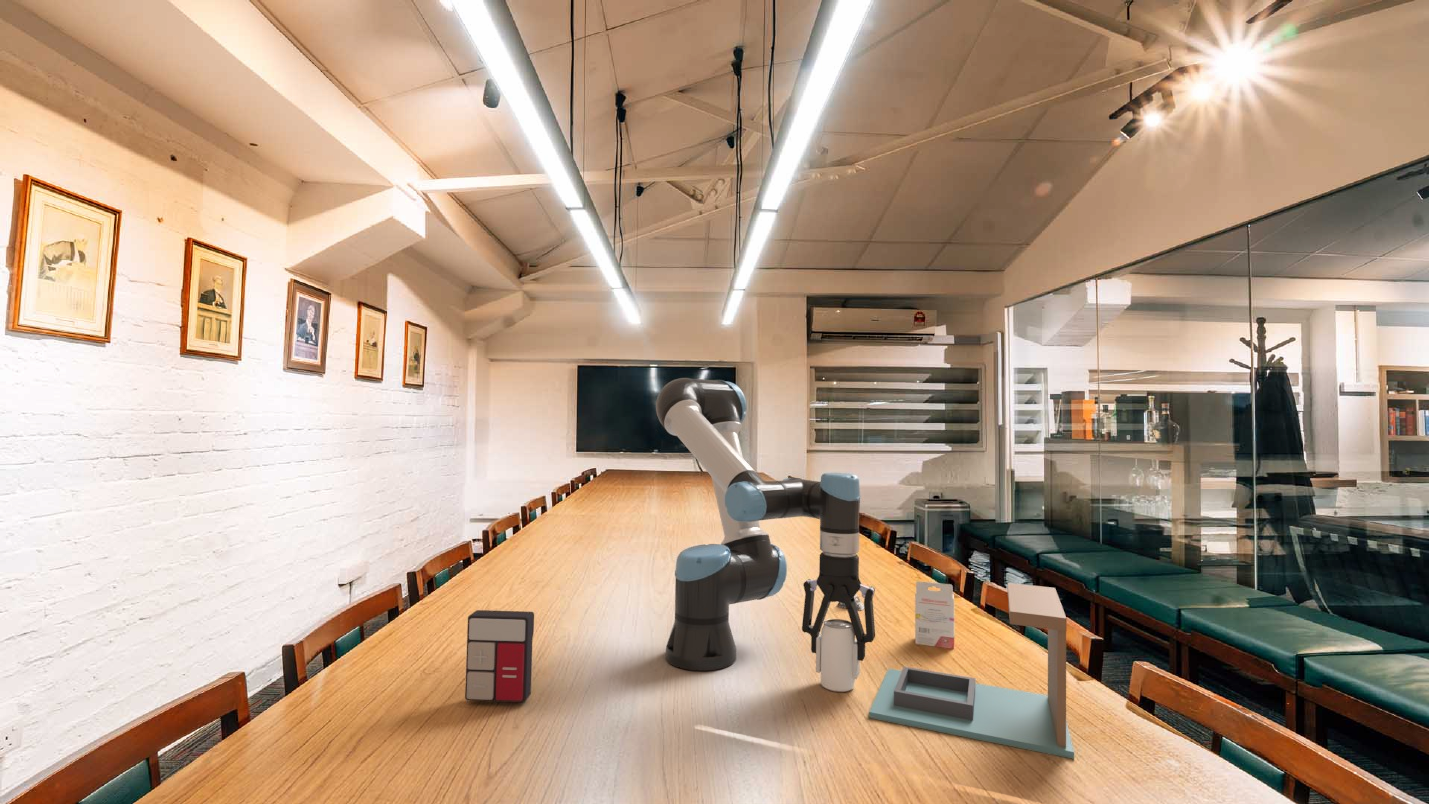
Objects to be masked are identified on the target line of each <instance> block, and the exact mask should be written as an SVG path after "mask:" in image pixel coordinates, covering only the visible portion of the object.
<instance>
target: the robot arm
mask: <svg viewBox="0 0 1429 804" xmlns="http://www.w3.org/2000/svg"><path fill="white" fill-rule="evenodd" d="M743 392H744V391H742V389H741V387H739V386H738V385H737V384H735V383H733V382H731V381H725V380H723V379H714V380H713V379H700V378H699V379H698V378H691V377H690V378H689V377H679V378H677V379H676V378H675V379H673V380H671V381H670V382H668V383H666V384H665V385H664V386H663V387H662V388H661V390H660V391H659V393H658V395H657V398H656V402H655V411H656V415H657V418H658V420H659V422H660V424H661V425H662V427H663V428H664V430H666V432H667V433H668V434H669V435H672V436H675V437H677V438H678V439H679V440H680V442H682V443H683V445H684V446H685V447H686V449H688V451H689V452H690V453H691V454H692V455H693V456H694V458H695V459H696V460H697V461H698V462H699V464H700V465H701V466H702V467H703V468H704V469H705V471H706V472H707V473H708V474H709V475H710V477H711V481H712V487H713V490H714V494H715V499H716V504H717V508H718V512H719V513H718V514H719V518H720V522H721V526H722V531H723V535H724V538H723V540H722V541H721V543H720V544H719V543H708V544H703V543H702V544H699V545H698V544H697V545H694V546H690V547H687V548H684V549H683V550H681V552H680V553H679V554H678V555H677V557H676V564H675V571H674V576H675V577H674V578H675V587H674V588H675V590H674V591H675V593H674V600H675V601H674V620H673V621H674V622H673V625H672V628H671V631H670V634H669V636H668V640H667V643H666V647H665V660H666V662H667V663H669V664H670V665H672V666H674V667H677V668H679V667H680V669H684V670H690V671H715V670H720V669H724V668H727V667H729V666H731V665H733V664H734V663H735V662H736V660H737V646H736V641H735V639H734V635H733V632H732V629H731V626H730V622H729V621H730V620H729V615H730V612H729V611H730V605H734V604H740V603H745V602H750V601H757V600H759V601H760V600H763V599H767V598H769V597H772V596H776V594H778V593H779V592H780V591H781V590H782V588H783V587H784V584H785V582H786V580H787V579H786V578H787V574H788V564H787V559H786V556H785V554H784V552H783V550H781V549H780V547H779V546H777V545H775V544H773V543H771V539H770V536H769V533H767V532H766V531H764V530H763V529H762V528H761V525H760V521H766V520H775V519H776V520H777V519H787V518H798V517H799V518H802V517H805V518H812V519H817V520H819V550H820V552H821V553H820V554H819V566H818V567H819V572H818V577H817V579H810V578H808V579H806V581H804V582H803V589H804V593H805V594H804V605H803V615H802V624H801V625H802V626H801V630H802V632H804V633H807V634H808V635H809V636H810V637H811V639H810V640H811V642H810V650H811V653H813V654H815V655H816V656H815V673H820V674H821V630H822V628H823V625H824V621H825V620H826V616H827V613H828V611H829V607H830V605H831V603H835V602H837V603H839V602H840V603H845V606H846V608H845V609H846V610H847V613H848V616H849V620H850V622H851V623H852V627H853V630H854V633H855V642H854V643H853V679H855V680H857V679H858V678H859V676H860V662H862V661H864V660H865V657H866V643H873V642H874V640H875V638H876V628H875V616H874V614H875V613H874V601H873V599H874V596H875V592H876V591H875V590H876V588H875V587H874V586H867V585H864V584H862V582H861V580H860V577H859V576H860V573H859V571H860V570H859V568H860V565H859V564H860V556H859V555H858V553H859V552H860V505H861V491H860V489H861V488H860V479H859V477H858V475H856V474H853V473H847V472H843V473H842V472H823V473H822V474H821V476H820V481H816V480H810V479H804V478H800V477H799V478H798V477H795V478H794V477H793V478H792V477H791V478H790V477H788V478H784V479H782V480H769V481H768V480H764V479H763V478H762V476H760V475H759V474H758V473H757V472H756V471H755V469H754V468H753V467H752V466H751V465H750V464H749V463H748V462H747V461H746V460H745V459H744V455H743V451H742V448H741V447H742V446H741V442H740V439H739V434H740V431H741V429H742V428H743V425H742V423H743V422H744V421H745V417H746V416H747V415H746V411H747V400H746V396H745V394H744V393H743ZM817 586H818V587H817ZM817 588H819V589H820V591H821V592H822V594H823V597H822V600H821V604H820V607H819V610H818V613H817V615H816V618H815V621H814V623H813V625H812V621H813V610H814V601H815V591H817ZM859 591H860V593H861V597H862V598H863V605H864V609H863V610H864V619H865V620H864V621H865V622H864V623H865V631H864V628H863V625H862V621H861V617H860V615H859V610H857V608H856V602H855V599H854V597H856V596H855V595H857V593H858V592H859ZM865 632H866V633H865Z"/></svg>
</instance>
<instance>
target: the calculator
mask: <svg viewBox="0 0 1429 804" xmlns="http://www.w3.org/2000/svg"><path fill="white" fill-rule="evenodd" d="M534 629H535V613H534V612H533V611H524V610H523V611H520V610H519V611H517V610H489V609H488V610H487V609H485V610H481V609H477V610H475V611H474V612H472V613H471V614H470V615H468V617H467V631H466V633H467V636H466V661H465V663H466V665H465V667H466V668H465V690H464V691H465V692H464V693H465V694H464V695H465V696H464V698H465V700H466V701H472V702H473V701H476V702H478V701H479V702H503V703H505V702H506V703H507V702H508V703H525V702H526V701H527V700H528V699H529V698H530V696H531V693H532V668H533V666H532V665H533V659H532V658H533V639H534Z"/></svg>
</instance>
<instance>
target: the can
mask: <svg viewBox="0 0 1429 804" xmlns="http://www.w3.org/2000/svg"><path fill="white" fill-rule="evenodd" d="M820 634H821V672H820V685H821V686H822V688H824V689H825V690H828V691H830V692H835V693H847V692H850V691H853V689H854V688H855V682H856V679H853V643H854V642H855V640H856V636H855V633H854V630H853V627H852V623H851V621H848V620H846V619H841V618H830V619H829V618H828V619H824V622H823V625H822V627H821V630H820Z"/></svg>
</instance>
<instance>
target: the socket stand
mask: <svg viewBox="0 0 1429 804" xmlns="http://www.w3.org/2000/svg"><path fill="white" fill-rule="evenodd" d="M1007 599H1008V600H1007V603H1008V605H1007V606H1008V614H1009V617H1008V618H1009V624H1010V625H1014V626H1015V625H1016V626H1024V627H1031V628H1039V629H1047V694H1042V693H1036V692H1031V691H1024V690H1021V689H1020V690H1019V689H1013V688H1007V687H1002V686H1001V687H1000V686H997V685H989V684H988V685H987V684H984V683H977V682H976V678H975V677H969V676H963V675H957V674H952V673H951V674H950V673H944V672H939V671H934V670H933V671H932V670H929V669H928V670H927V669H922V668H914V667H909V666H903V667H902V670H901V669H894V668H888V669H887V671H886V674H885V675H884V678H883V680H882V682H881V683H880V687H879V689H878V690H877V691H878V692H877V693H876V696H875V698H874V700H873V702H872V705H871V706H870V710H869V711H868V718H869V719H872V720H873V719H874V720H879V721H883V722H889V723H893V724H899V725H903V726H907V727H913V728H919V729H923V730H929V731H932V732H938V733H943V734H949V735H951V736H952V735H953V736H958V737H964V738H968V739H973V740H978V741H983V742H989V743H994V744H998V745H1002V746H1003V745H1004V746H1009V747H1013V748H1018V749H1022V750H1029V751H1034V752H1038V753H1042V754H1048V755H1051V756H1052V755H1054V756H1058V757H1064V758H1068V759H1073V760H1075V750H1074V745H1073V743H1072V737H1071V735H1070V730H1069V726H1068V721H1067V630H1068V629H1067V627H1068V624H1067V621H1068V620H1067V617H1066V613H1065V611H1064V607H1063V605H1062V603H1061V599H1060V597H1059V594H1058V592H1057V590H1056V587H1049V586H1041V585H1032V584H1022V583H1014V582H1007Z"/></svg>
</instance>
